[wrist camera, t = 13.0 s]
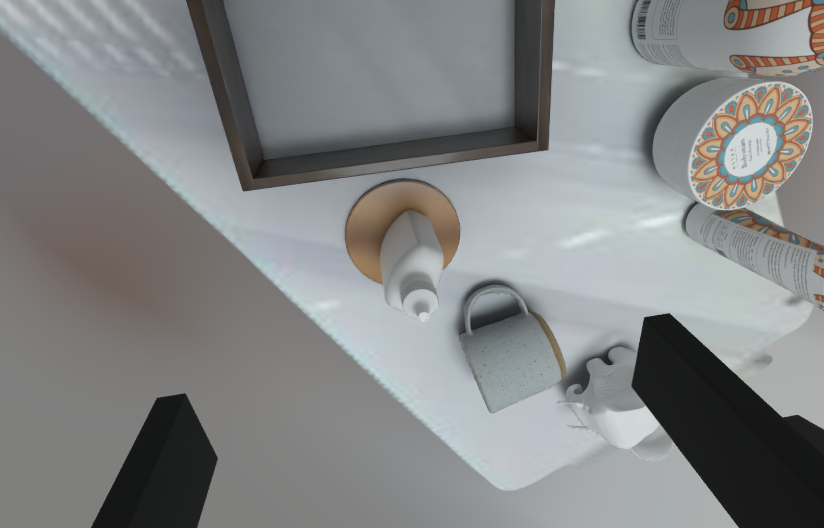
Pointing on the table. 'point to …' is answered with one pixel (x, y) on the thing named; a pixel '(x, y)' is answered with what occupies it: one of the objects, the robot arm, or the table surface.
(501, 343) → the ceramic mug
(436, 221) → the coaster
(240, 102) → the dark wooden open box
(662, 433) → the elephant figurine
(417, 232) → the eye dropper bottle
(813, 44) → the cosmetic set
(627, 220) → the table surface
